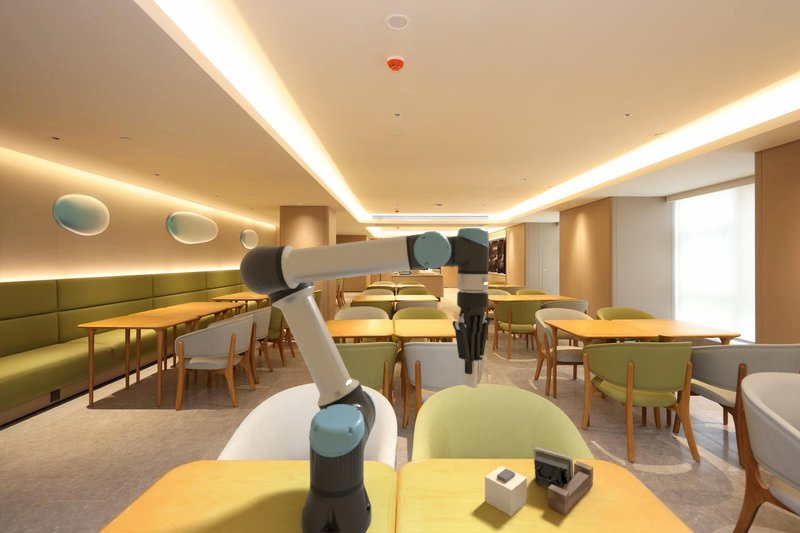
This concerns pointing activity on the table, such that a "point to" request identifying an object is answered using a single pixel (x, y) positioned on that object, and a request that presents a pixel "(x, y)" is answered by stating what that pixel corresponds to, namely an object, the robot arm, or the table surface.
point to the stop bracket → (571, 489)
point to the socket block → (506, 490)
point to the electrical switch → (552, 468)
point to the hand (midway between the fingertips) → (471, 385)
